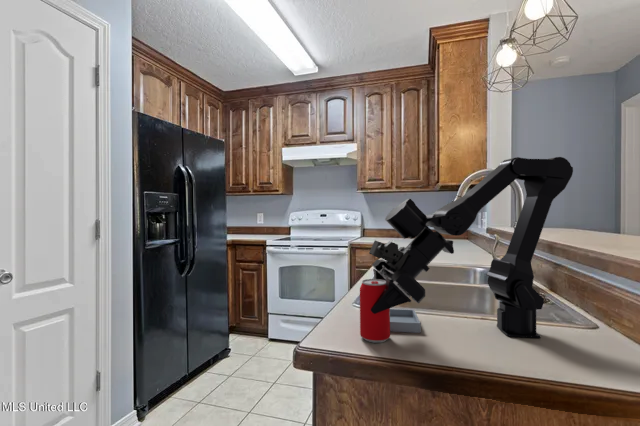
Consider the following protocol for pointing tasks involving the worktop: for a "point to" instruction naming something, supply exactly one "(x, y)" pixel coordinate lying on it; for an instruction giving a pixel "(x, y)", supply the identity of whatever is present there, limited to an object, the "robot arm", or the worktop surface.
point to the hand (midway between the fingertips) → (368, 307)
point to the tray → (404, 321)
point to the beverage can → (370, 323)
